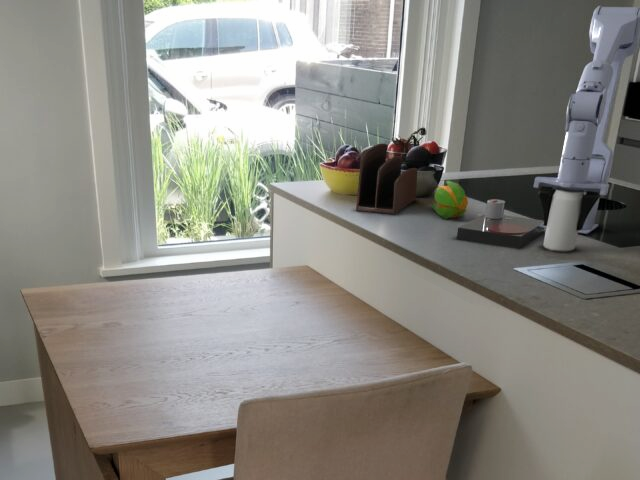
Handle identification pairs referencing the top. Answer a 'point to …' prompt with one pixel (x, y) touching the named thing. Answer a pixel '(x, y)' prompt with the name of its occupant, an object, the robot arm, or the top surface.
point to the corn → (450, 200)
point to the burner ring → (508, 228)
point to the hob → (481, 234)
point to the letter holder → (384, 182)
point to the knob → (495, 209)
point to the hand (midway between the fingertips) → (562, 227)
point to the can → (563, 221)
